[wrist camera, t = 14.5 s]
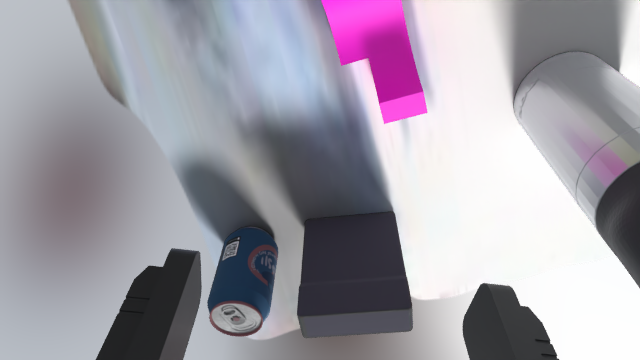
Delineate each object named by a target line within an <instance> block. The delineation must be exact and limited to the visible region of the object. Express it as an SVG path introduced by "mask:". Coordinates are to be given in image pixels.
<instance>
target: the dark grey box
mask: <svg viewBox="0 0 640 360" xmlns="http://www.w3.org/2000/svg"><path fill="white" fill-rule="evenodd" d="M297 316H298V320H299V323H300V327H301V331H302V335H303V337H305V338H316V337H331V336H347V335H361V334H376V333H392V332H407V331H411V330H412V328H413V321H412V302H411V297H410V291H409V286H408V280H407V277H406V272H405V267H404V261H403V256H402V250H401V245H400V239H399V234H398V228H397V223H396V217H395V213H394V212H382V213H371V214H360V215H349V216H339V217H328V218H317V219H308V220H306V221H305V231H304V245H303V258H302V272H301V284H300V286H299V295H298V308H297Z"/></svg>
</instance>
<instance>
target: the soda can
mask: <svg viewBox="0 0 640 360" xmlns="http://www.w3.org/2000/svg"><path fill="white" fill-rule="evenodd" d="M277 258H278V247H277V245H276V243H275V241H274V239H273V238H272V237H271V236H270V234H269V233H267V232H266V231H264V230H263V229H260V228H257V227H244V228H241V229H238V230H237V231H235V232H233V233H232V234H230V235H229V236H228V237H227V239H226V240H225V242H224V245H223V249H222V252H221V256H220V259H219V263H218V266H217V270H216V274H215V277H214V281H213V284H212V288H211V291H210V295H209V298H208V309H209V312H210V317H209V318H210V322H211V324H212V325H213V326H214V327H215V328H216V329H217V330H218V331H220V332H222V333H224V334H227V335H231V336H248V335H252V334H254V333H256V332H257V331H258V330H260V328H261V327H262V324H263V322H264V321H265V319H266V318H267V317H268V315H269V313H270V307H271V300H272V293H273V286H274V279H275V272H276V265H277Z"/></svg>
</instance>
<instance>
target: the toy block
mask: <svg viewBox="0 0 640 360" xmlns="http://www.w3.org/2000/svg"><path fill="white" fill-rule="evenodd" d="M321 1H322V3H323V6H324V9H325V12H326V15H327V18H328V21H329V24H330V27H331V30H332V33H333V37H334V40H335V44H336V47H337V51H338V55H339V58H340V62H341V66H342V65H345V64H349V63H352V62H355V61H359V60H362V59H366V58H369V62H370V66H371V70H372V74H373V78H374V83H375V87H376V91H377V96H378V100H379V105H380V109H381V113H382V117H383V120H384V124H385V123H389V122H393V121H397V120H401V119H405V118H408V117H412V116H416V115H420V114H424V113H427V108H426V103H425V97H424V92H423V89H422V86H421V83H420V80H419V76H418V73H417V69H416V65H415V62H414V58H413V54H412V50H411V45H410V41H409V37H408V32H407V28H406V23H405V18H404V13H403V8H402V2H401V0H321Z"/></svg>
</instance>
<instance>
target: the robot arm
mask: <svg viewBox="0 0 640 360" xmlns="http://www.w3.org/2000/svg"><path fill="white" fill-rule="evenodd" d="M514 111H515V116H516V118H517V120H518V122H519V124H520V125H521V126H522V128H523V129H524V131H525V132H526V133H527V135H528V136H529V138H530V139H531V140H532V142H533V143H534V145H535V146H536V147H537V149H538V150H539V152H540V153H541V154H542V156H543V157H544V158H545V160H546V161H547V163H548V164H549V165H550V167H551V168H552V169H553V171H554V172H555V174H556V175H557V176H558V178H559V179H560V180H561V182H562V183H563V185H564V186H565V187H566V189H567V190H568V191H569V193H570V194H571V196H572V197H573V198H574V200H575V201H576V202H577V204H578V205H579V207H580V208H581V209H582V211H583V212H584V213H585V214H586V216H587V217H588V219H589V220H590V221H591V223H592V224H593V226H594V227H595V228H596V230H597V231H598V232H599V234H600V235H601V237H602V238H603V239H604V241H605V242H606V243H607V245H608V246H609V247H610V248H611V250H612V251H613V252H614V254H615V255H616V256H617V257H618V259H619V260H620V261H621V262H622V264H623V265H624V267H625V268H626V269H627V271H628V272H629V274H630V275H631V276H632V278H633V279H634V280H635V282H636V283H637V285H638V286H639V288H640V87H638V86H637V85H636V84H634V83H633V82H631V81H630V80H629V79H627V78H626V77H625V76H623V75H622V74H621V73H619V72H618V71H616V70H615V69H614V68H612V67H611V66H609V65H608V64H607V63H605V62H604V61H603V60H601V59H600V58H598V57H597V56H595V55H592V54H590V53H586V52H580V51H576V52H566V53H562V54H558V55H555V56H553V57H551V58H549V59H546V60H545V61H543V62H542V63H540V64H539V65H537V66H536V67H535V68H534V69H533V70H532V71H530V72H529V73H528V75H527V76H526V77H525V78H524V80H523V81H522V82H521V84H520V86H519V88H518V90H517V93H516V96H515V100H514ZM200 298H201V261H200V252H199V251H192V250H182V249H173V248H172V249H171V250H170V252H169V254H168V257H167V259H166V261H165V264H164V266H163V267H156V266H148V267H147V268H146V269H145V270H144V271H143V272H142V273H141V274H140V275H138V276H137V277H136V278H135V279H134V281H133V283H132V285H131V287H130V289H129V291H128V293H127V295H126V299H125V300H124V302H123V304H122V306H121V308H120V312H119V314H118V315H117V316H116V319H115V321H114V323H113V325H112V327H111V329H110V331H109V333H108V335H107V337H106V339H105V342H104V344H103V346H102V348H101V350H100V352H99V354H98V356H97V358H96V360H183V358H184V355H185V351H186V348H187V345H188V341H189V338H190V335H191V331H192V328H193V325H194V322H195V318H196V315H197V311H198V308H199V304H200ZM463 337H464V340H465V344H466V347H467V351H468V355H469V358H470V360H559V359H557V354H556V352H555V350H554V348H553V345H552V344H550V339H549V337H548V335H547V332H546V330H545V328H544V326H543V324H542V322H541V321H540V320H539V319H538V318H537V317H536V315H535V314H534V313H533V312H532V311H531V310H530V309H529V307H525V306H520V304H519V301H518V299H517V297H516V294H515V292H514V290H513V289H512V288H511V287H510V286H504V285H496V284H487V283H483V284H481V285H480V287H479V288H478V290H477V292H476V294H475V296H474V298H473V300H472V302H471V304H470V306H469V308H468V310H467V312H466V314H465V316H464V320H463Z"/></svg>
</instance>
